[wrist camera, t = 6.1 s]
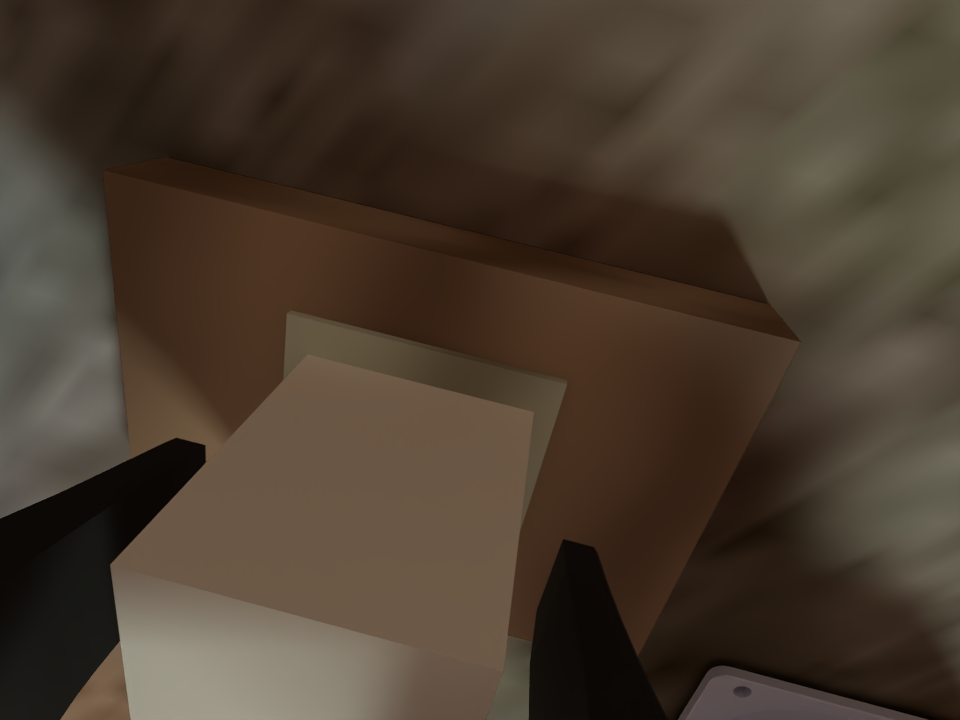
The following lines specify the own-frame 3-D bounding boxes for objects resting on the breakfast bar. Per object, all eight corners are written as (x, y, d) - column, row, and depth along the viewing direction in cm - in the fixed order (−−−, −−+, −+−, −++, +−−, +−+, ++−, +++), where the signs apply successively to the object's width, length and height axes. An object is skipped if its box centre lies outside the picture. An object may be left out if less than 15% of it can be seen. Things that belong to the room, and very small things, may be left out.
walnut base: (770, 304, 13) (804, 346, 11) (626, 607, 17) (632, 675, 15) (165, 156, 13) (94, 171, 11) (181, 489, 18) (133, 540, 16)
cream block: (534, 411, 12) (502, 671, 7) (485, 575, 15) (434, 863, 9) (307, 354, 12) (110, 565, 7) (295, 525, 15) (138, 779, 10)
